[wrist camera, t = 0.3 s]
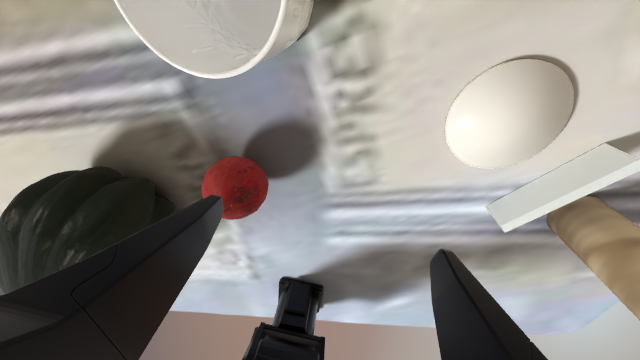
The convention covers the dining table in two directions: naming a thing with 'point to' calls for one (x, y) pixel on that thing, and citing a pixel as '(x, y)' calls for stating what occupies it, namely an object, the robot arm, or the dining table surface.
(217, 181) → the onion
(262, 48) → the white cup
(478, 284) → the robot arm
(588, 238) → the pepper mill
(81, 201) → the squash
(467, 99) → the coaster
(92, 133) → the dining table surface
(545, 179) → the divider wall
